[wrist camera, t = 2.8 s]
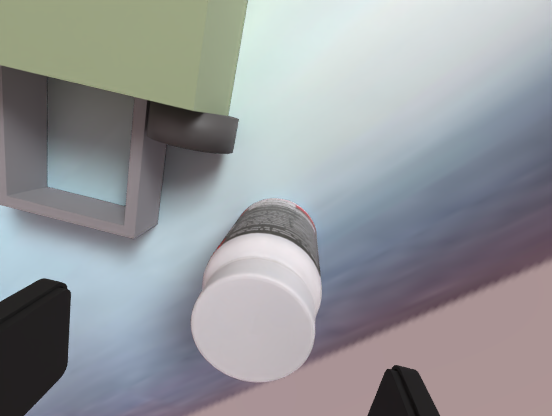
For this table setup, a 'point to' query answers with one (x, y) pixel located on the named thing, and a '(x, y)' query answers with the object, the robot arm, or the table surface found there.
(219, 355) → the pill bottle
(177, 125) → the cart
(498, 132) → the table surface
